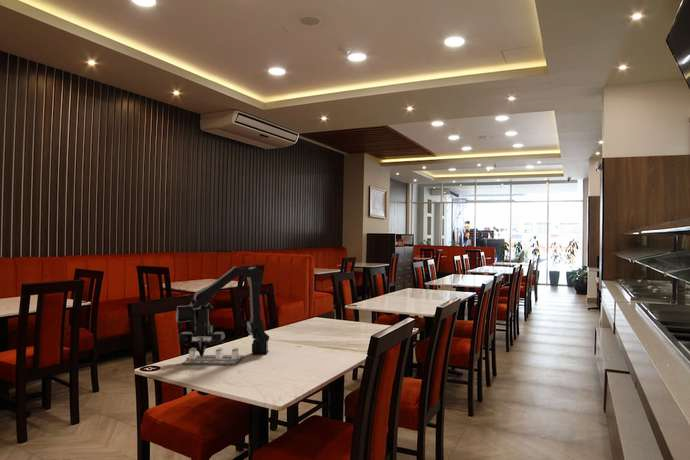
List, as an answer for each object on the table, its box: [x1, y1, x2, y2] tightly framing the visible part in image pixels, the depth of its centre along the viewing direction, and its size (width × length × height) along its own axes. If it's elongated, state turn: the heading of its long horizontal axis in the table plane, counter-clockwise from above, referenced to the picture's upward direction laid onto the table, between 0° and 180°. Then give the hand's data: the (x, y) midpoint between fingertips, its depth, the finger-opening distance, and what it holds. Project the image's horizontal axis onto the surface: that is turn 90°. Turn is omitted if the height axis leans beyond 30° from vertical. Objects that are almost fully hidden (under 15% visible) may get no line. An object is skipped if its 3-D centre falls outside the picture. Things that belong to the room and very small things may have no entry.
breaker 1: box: [188, 347, 197, 359], centre depth 199 cm, size 2×3×4 cm, turn 178°
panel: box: [182, 354, 245, 366], centre depth 198 cm, size 22×13×2 cm, turn 88°
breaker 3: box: [231, 347, 239, 359], centre depth 198 cm, size 2×3×4 cm, turn 178°
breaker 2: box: [215, 347, 224, 359], centre depth 198 cm, size 2×3×4 cm, turn 178°
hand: (201, 356), depth 198 cm, fingers closed
